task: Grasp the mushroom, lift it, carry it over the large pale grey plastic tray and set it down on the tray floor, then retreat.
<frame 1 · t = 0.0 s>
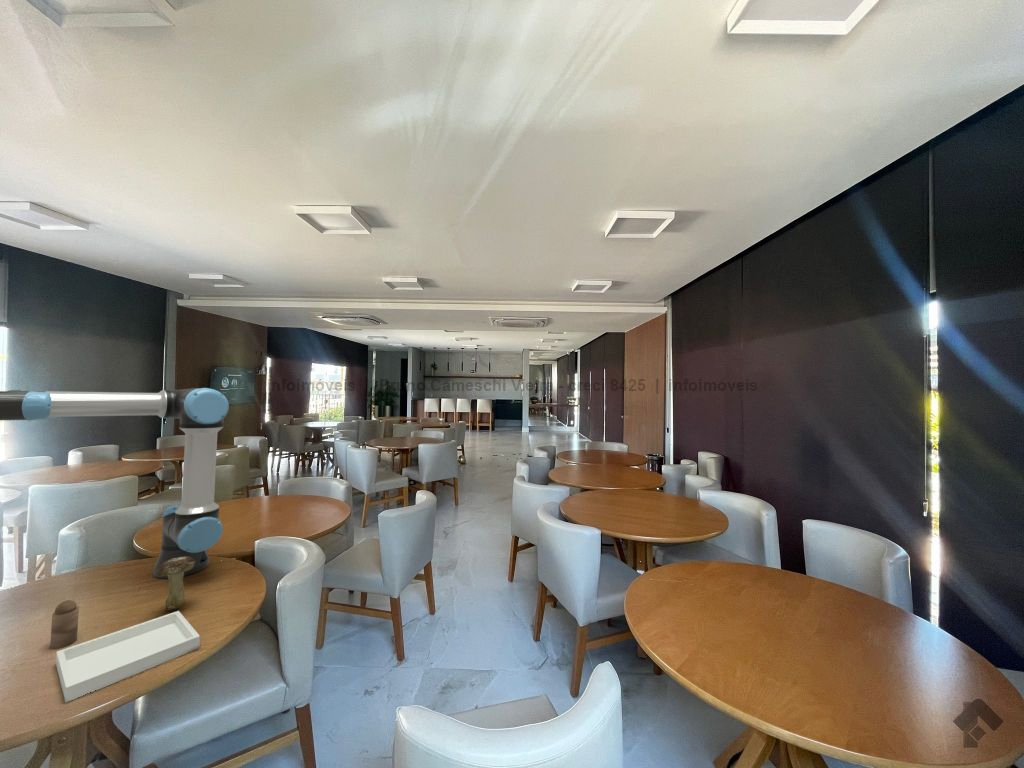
tray: (130, 656, 93), on the table
pepper mill: (63, 643, 97), on the table
mushroom: (174, 610, 113), on the table
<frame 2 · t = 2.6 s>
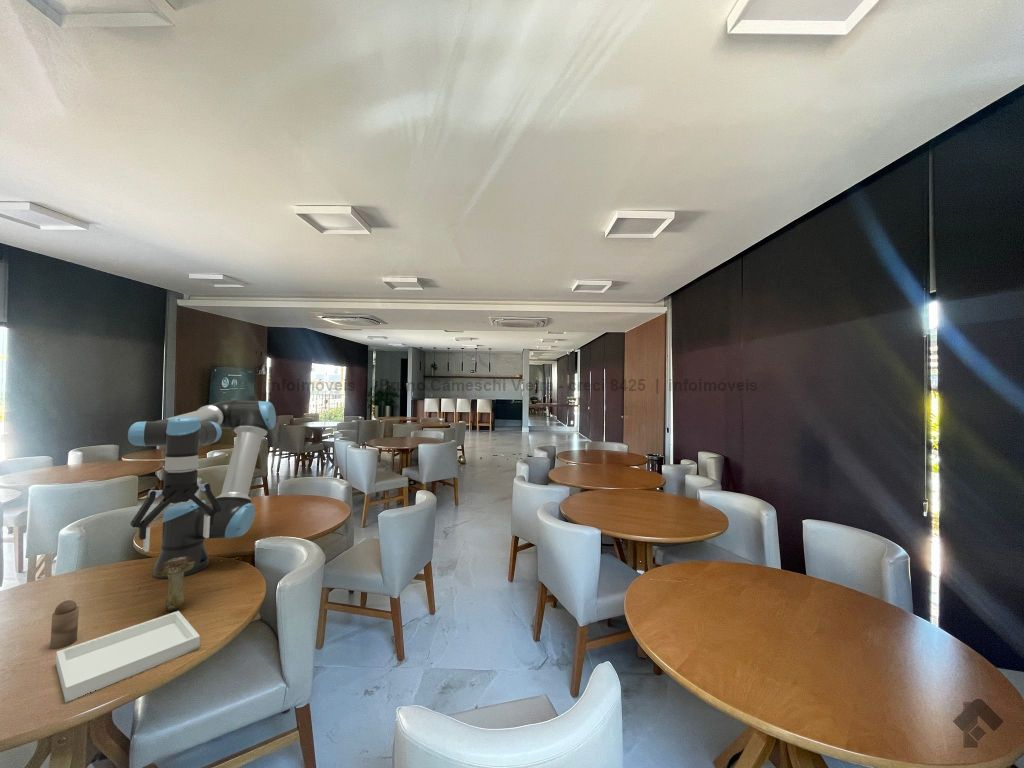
hand: (177, 543, 113), 19 cm above the table, fingers open, 13 cm apart
nothing on the table moved.
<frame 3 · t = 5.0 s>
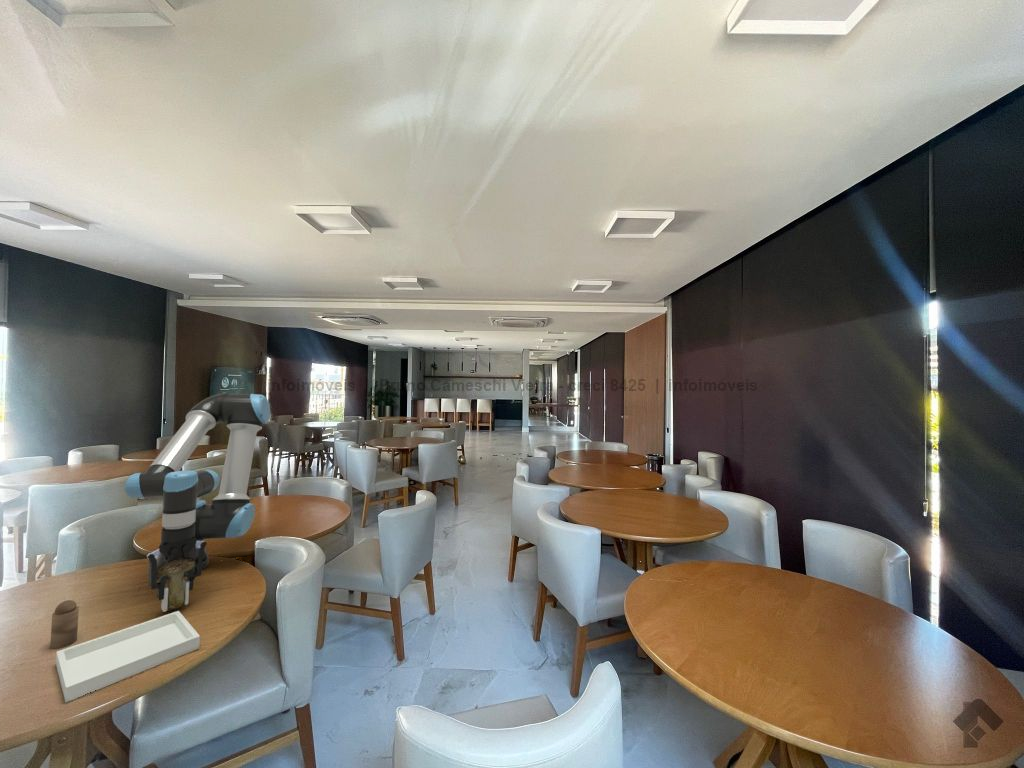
hand: (174, 606, 113), 1 cm above the table, fingers closed on mushroom, 4 cm apart
mushroom: (174, 610, 113), on the table, touching gripper, hand
everything else where it was.
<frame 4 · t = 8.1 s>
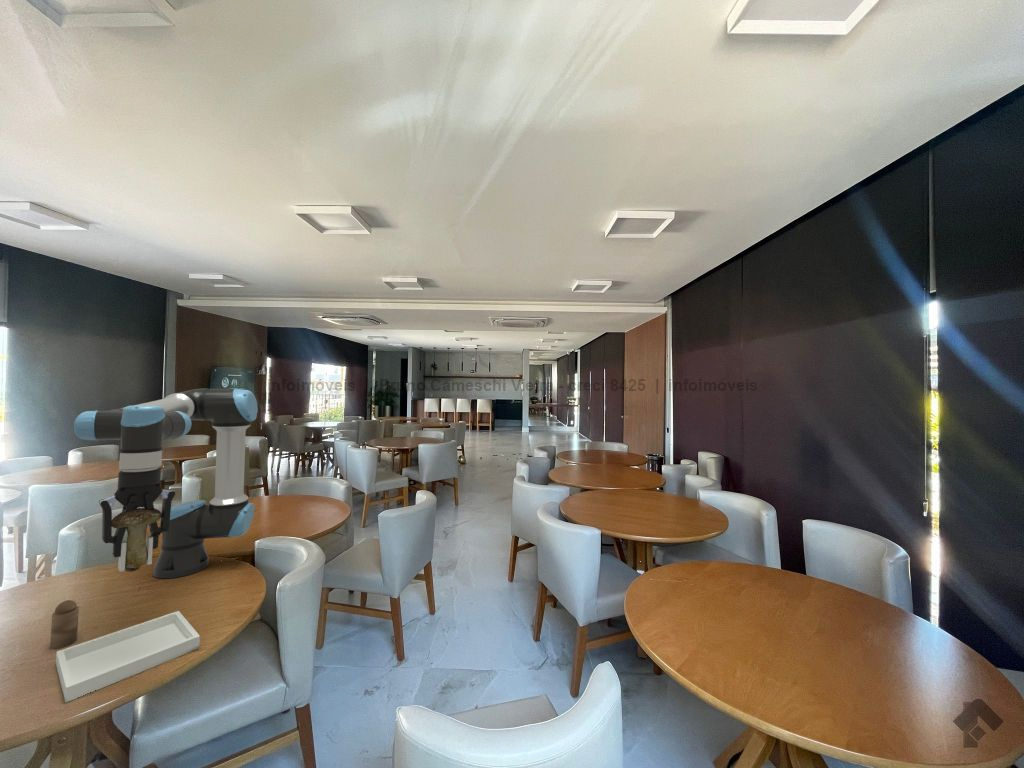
hand: (135, 565, 94), 21 cm above the table, fingers closed on mushroom, 4 cm apart
mushroom: (134, 571, 94), point 20 cm above the table, touching gripper, hand
everything else where it was.
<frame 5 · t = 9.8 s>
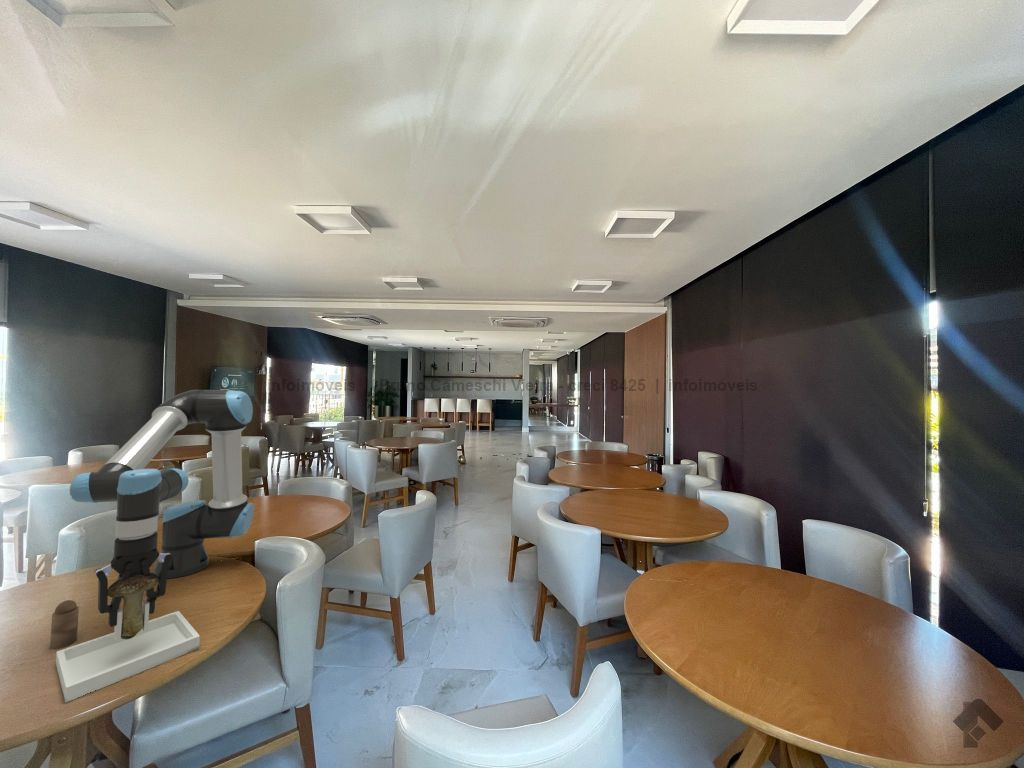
hand: (131, 633, 93), 6 cm above the table, fingers closed on mushroom, 4 cm apart
mushroom: (130, 638, 93), point 4 cm above the table, touching gripper, hand
everything else where it was.
when the fingers open (2 cm above the table, at t = 11.2 s): mushroom stays where it is, resting on tray.
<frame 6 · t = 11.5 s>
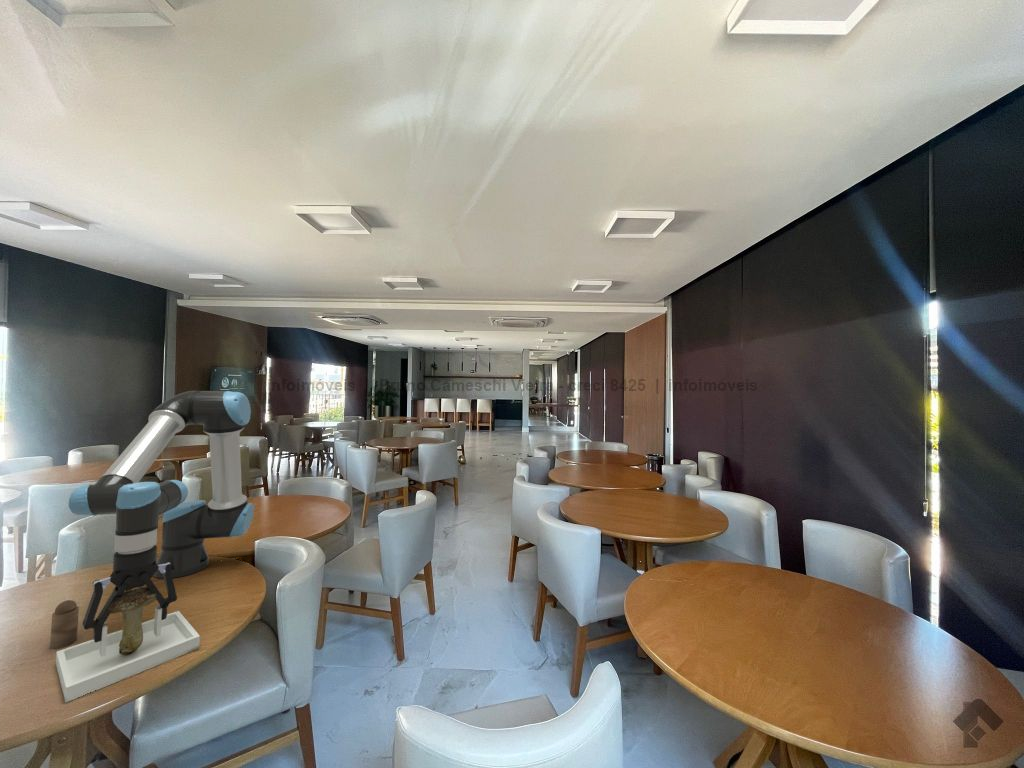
hand: (130, 643, 93), 3 cm above the table, fingers open, 9 cm apart
mushroom: (130, 654, 93), resting on tray
everything else where it was.
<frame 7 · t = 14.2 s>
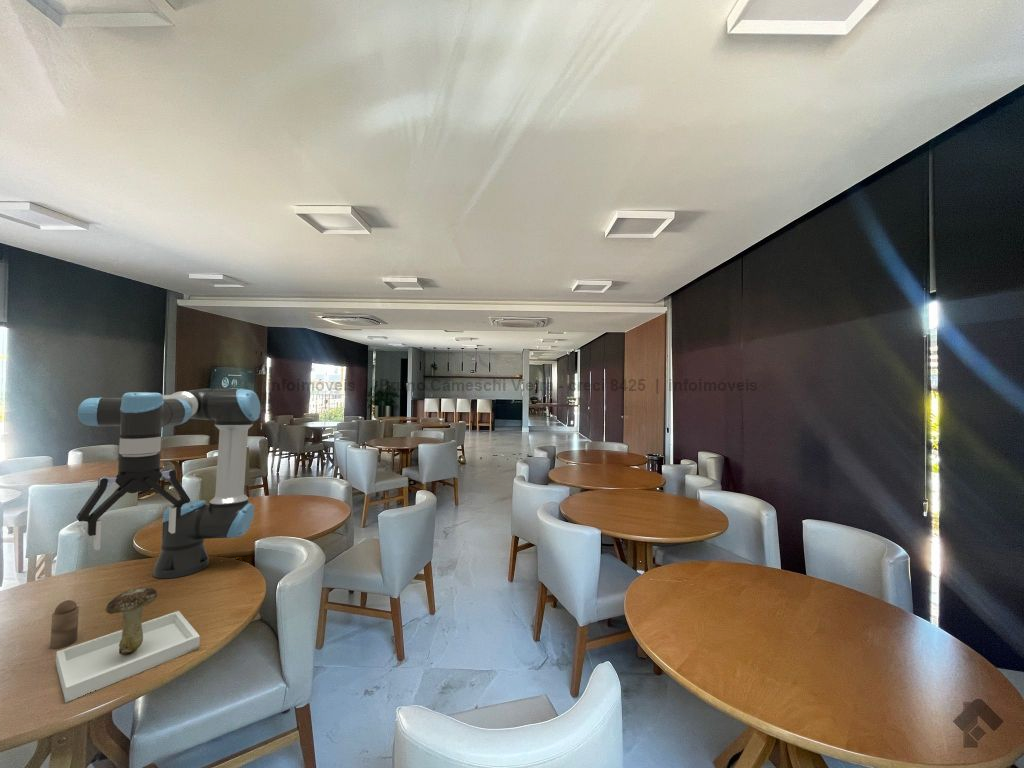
hand: (136, 539, 97), 27 cm above the table, fingers open, 13 cm apart
nothing on the table moved.
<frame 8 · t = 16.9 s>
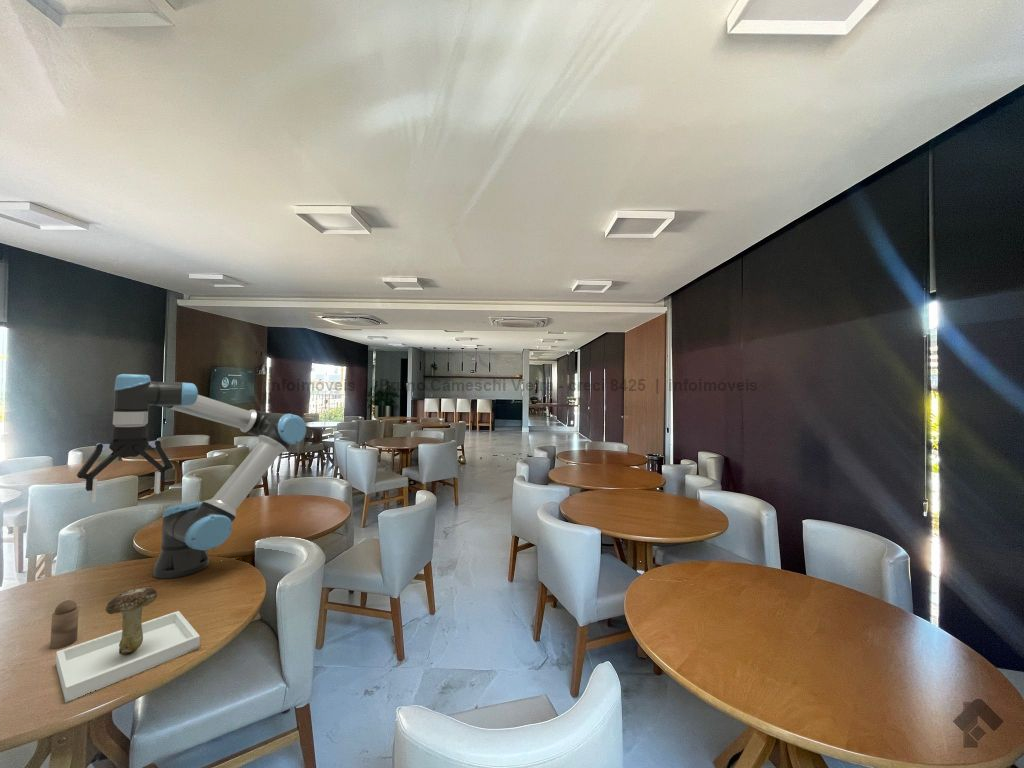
hand: (126, 497, 116), 32 cm above the table, fingers open, 13 cm apart
nothing on the table moved.
at the end: mushroom inside the target area on the tray (0.0 cm from its centre), point 0.4 cm above the tray's base; the gripper is holding nothing; pepper mill moved 0.0 cm from its start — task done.
